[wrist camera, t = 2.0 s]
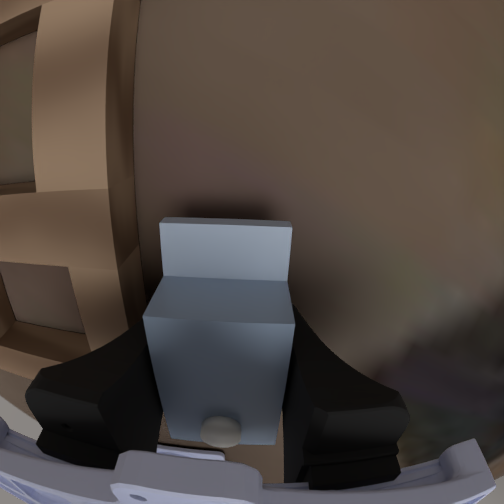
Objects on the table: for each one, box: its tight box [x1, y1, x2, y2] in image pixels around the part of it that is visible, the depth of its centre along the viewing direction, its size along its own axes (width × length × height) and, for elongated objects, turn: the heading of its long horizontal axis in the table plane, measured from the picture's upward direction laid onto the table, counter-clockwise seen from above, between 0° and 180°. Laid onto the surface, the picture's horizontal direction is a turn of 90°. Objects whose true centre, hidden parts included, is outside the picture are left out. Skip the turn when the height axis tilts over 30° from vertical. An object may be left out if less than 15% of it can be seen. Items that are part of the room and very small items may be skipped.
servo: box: [143, 217, 295, 448], centre depth 11 cm, size 4×10×6 cm, turn 178°
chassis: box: [0, 0, 147, 380], centre depth 11 cm, size 20×12×2 cm, turn 178°
